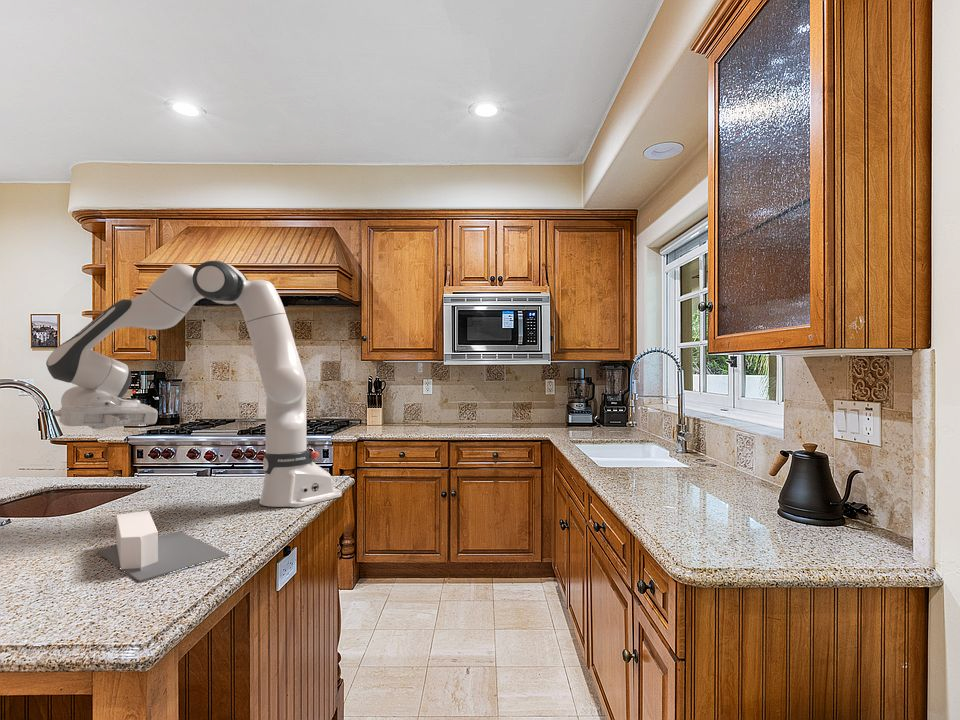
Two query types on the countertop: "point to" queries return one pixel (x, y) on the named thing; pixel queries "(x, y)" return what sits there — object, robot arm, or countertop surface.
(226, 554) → the mat
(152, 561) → the milk
